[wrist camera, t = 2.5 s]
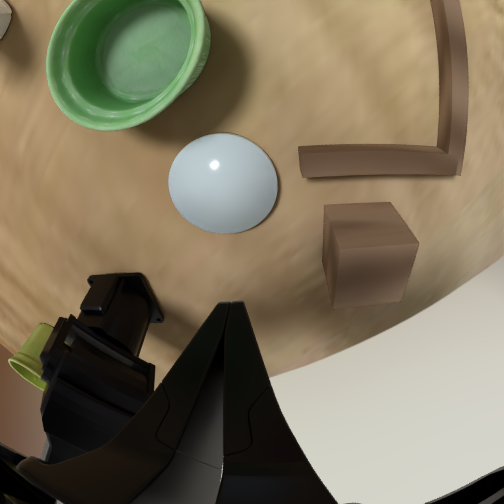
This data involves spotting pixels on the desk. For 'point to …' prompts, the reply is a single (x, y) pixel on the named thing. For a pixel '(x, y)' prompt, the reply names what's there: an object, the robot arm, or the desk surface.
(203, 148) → the pale grey dome
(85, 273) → the desk surface
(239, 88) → the desk surface
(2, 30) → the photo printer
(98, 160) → the desk surface
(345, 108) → the desk surface
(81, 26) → the ramekin
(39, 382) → the plant pot
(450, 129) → the bay
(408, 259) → the walnut block
